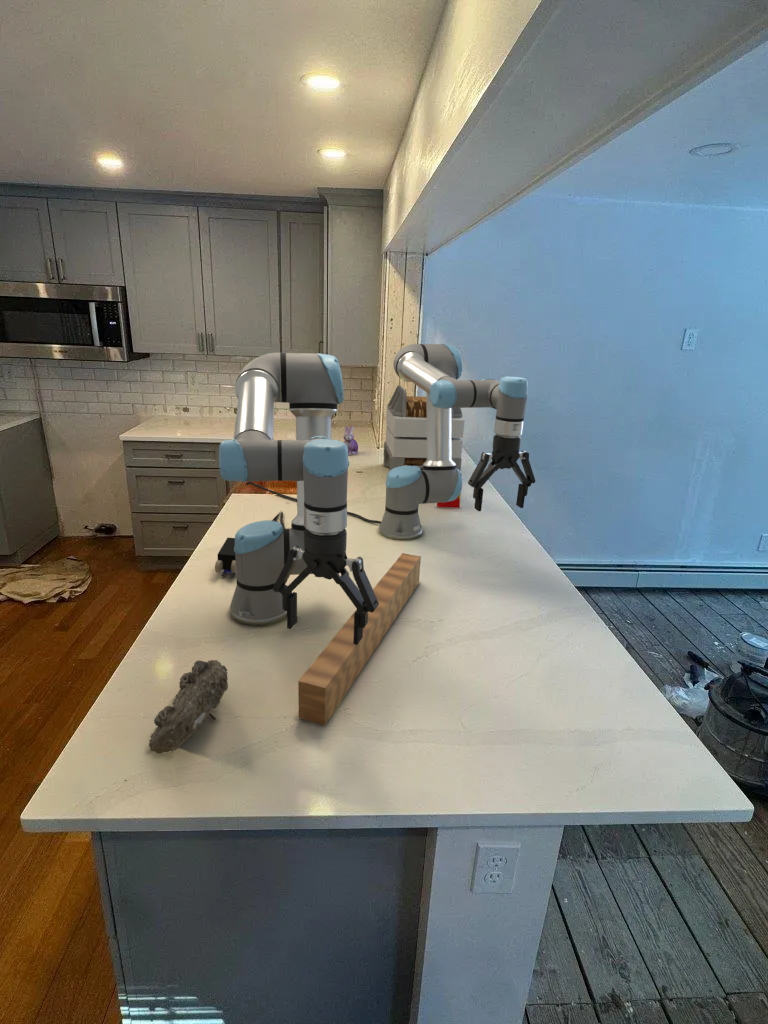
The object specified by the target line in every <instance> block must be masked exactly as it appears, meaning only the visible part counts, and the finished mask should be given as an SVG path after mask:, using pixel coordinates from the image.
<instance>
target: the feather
mask: <svg viewBox="0 0 768 1024" xmlns="http://www.w3.org/2000/svg"><path fill="white" fill-rule="evenodd" d="M281 512H283V511H282V510H280V512H279V513H277V514H276V516H275V517H273V519H272V520H271V521H273V522H274V521H277V520H278V518H279V516H280V515H281Z"/></svg>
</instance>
